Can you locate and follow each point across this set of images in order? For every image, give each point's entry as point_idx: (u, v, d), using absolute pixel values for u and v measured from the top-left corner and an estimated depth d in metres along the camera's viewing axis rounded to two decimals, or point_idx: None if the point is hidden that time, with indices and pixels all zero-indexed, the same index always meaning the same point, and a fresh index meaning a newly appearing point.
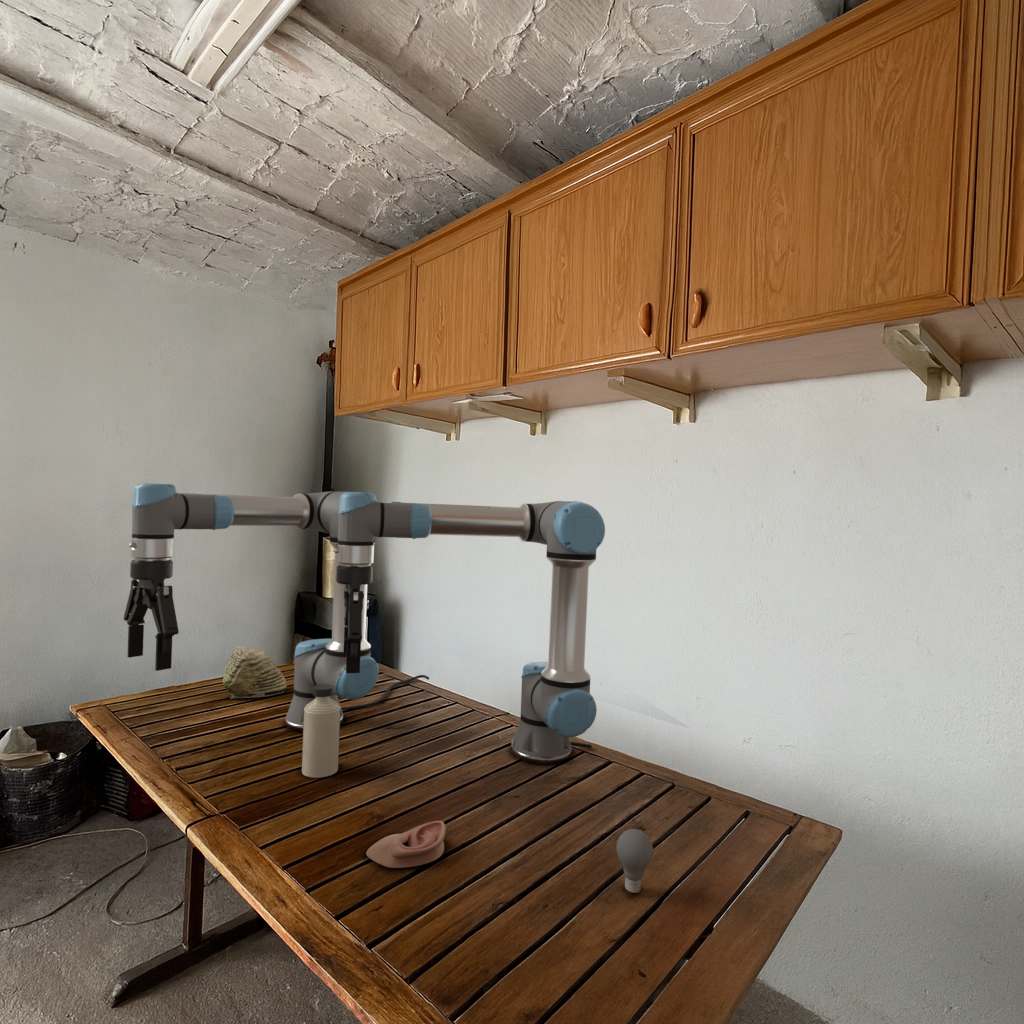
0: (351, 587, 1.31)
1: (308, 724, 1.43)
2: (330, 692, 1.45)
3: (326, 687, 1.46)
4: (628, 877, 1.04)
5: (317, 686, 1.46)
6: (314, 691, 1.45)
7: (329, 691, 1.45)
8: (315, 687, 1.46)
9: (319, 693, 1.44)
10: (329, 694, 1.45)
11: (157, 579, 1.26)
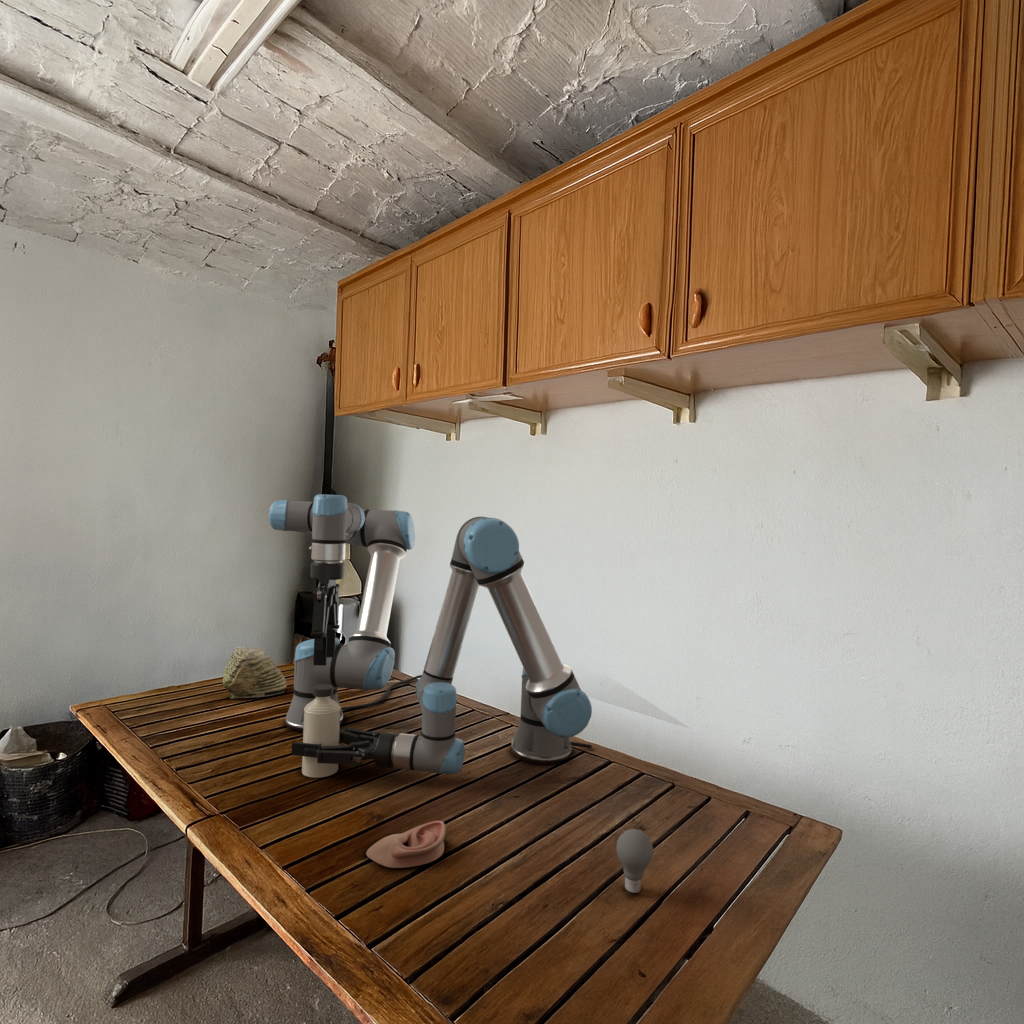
0: None
1: (308, 724, 1.43)
2: (330, 692, 1.45)
3: (326, 687, 1.46)
4: (628, 877, 1.04)
5: (317, 686, 1.46)
6: (314, 691, 1.45)
7: (329, 691, 1.45)
8: (315, 687, 1.45)
9: (319, 693, 1.44)
10: (329, 694, 1.45)
11: (321, 580, 1.42)
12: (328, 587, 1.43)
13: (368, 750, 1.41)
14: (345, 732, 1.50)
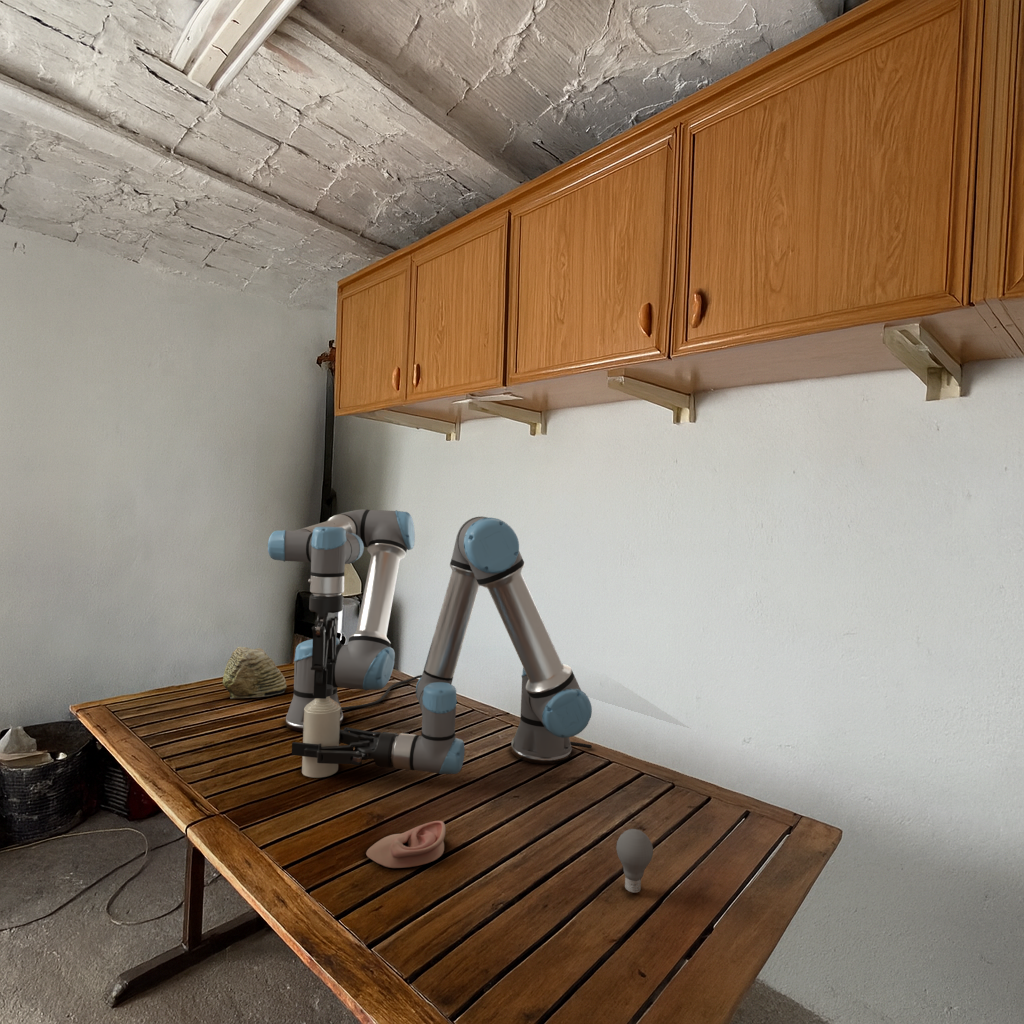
0: None
1: (308, 724, 1.43)
2: (330, 692, 1.45)
3: None
4: (628, 877, 1.04)
5: None
6: None
7: (329, 691, 1.45)
8: None
9: None
10: (329, 694, 1.45)
11: (320, 613, 1.42)
12: (327, 620, 1.43)
13: (368, 750, 1.41)
14: (345, 732, 1.50)
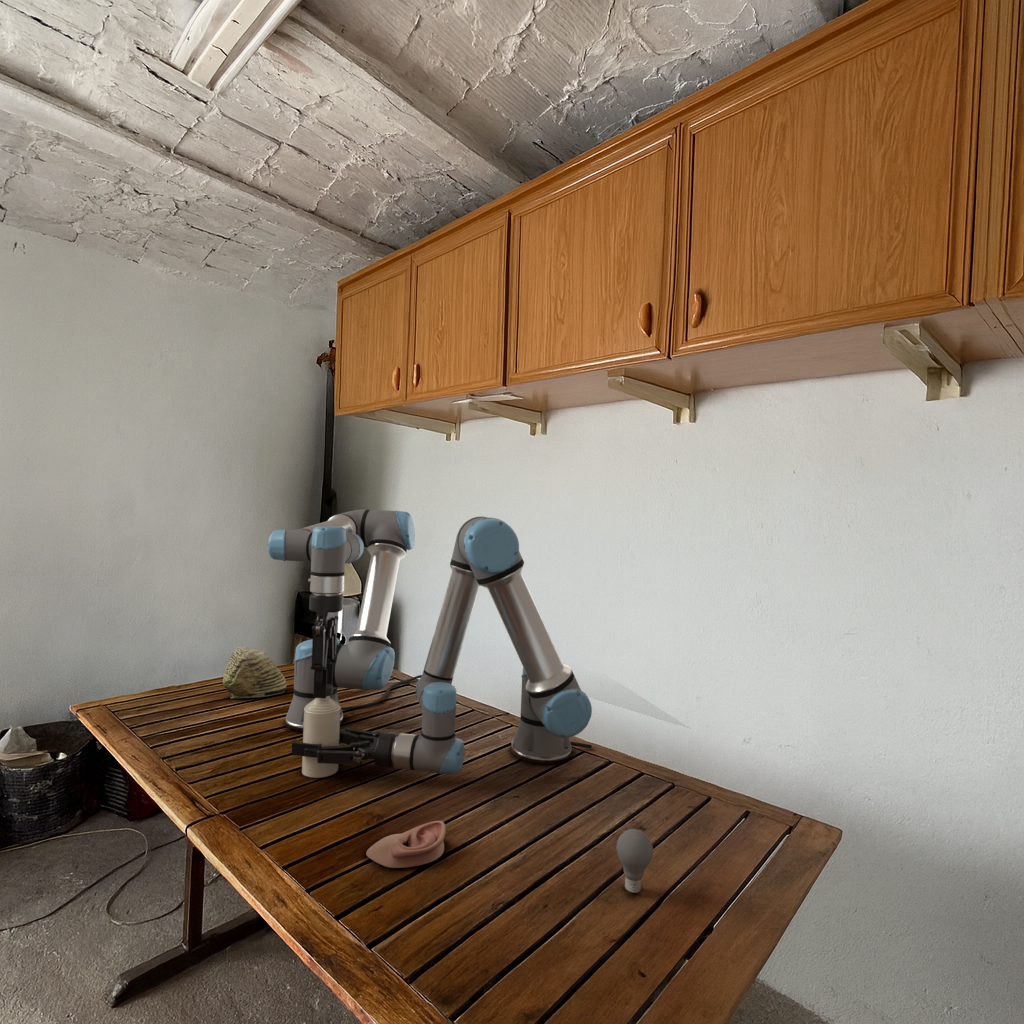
0: None
1: (308, 724, 1.43)
2: None
3: None
4: (628, 877, 1.04)
5: None
6: (331, 690, 1.46)
7: None
8: (327, 688, 1.45)
9: None
10: None
11: (320, 612, 1.42)
12: (327, 620, 1.43)
13: (368, 750, 1.41)
14: (345, 732, 1.50)
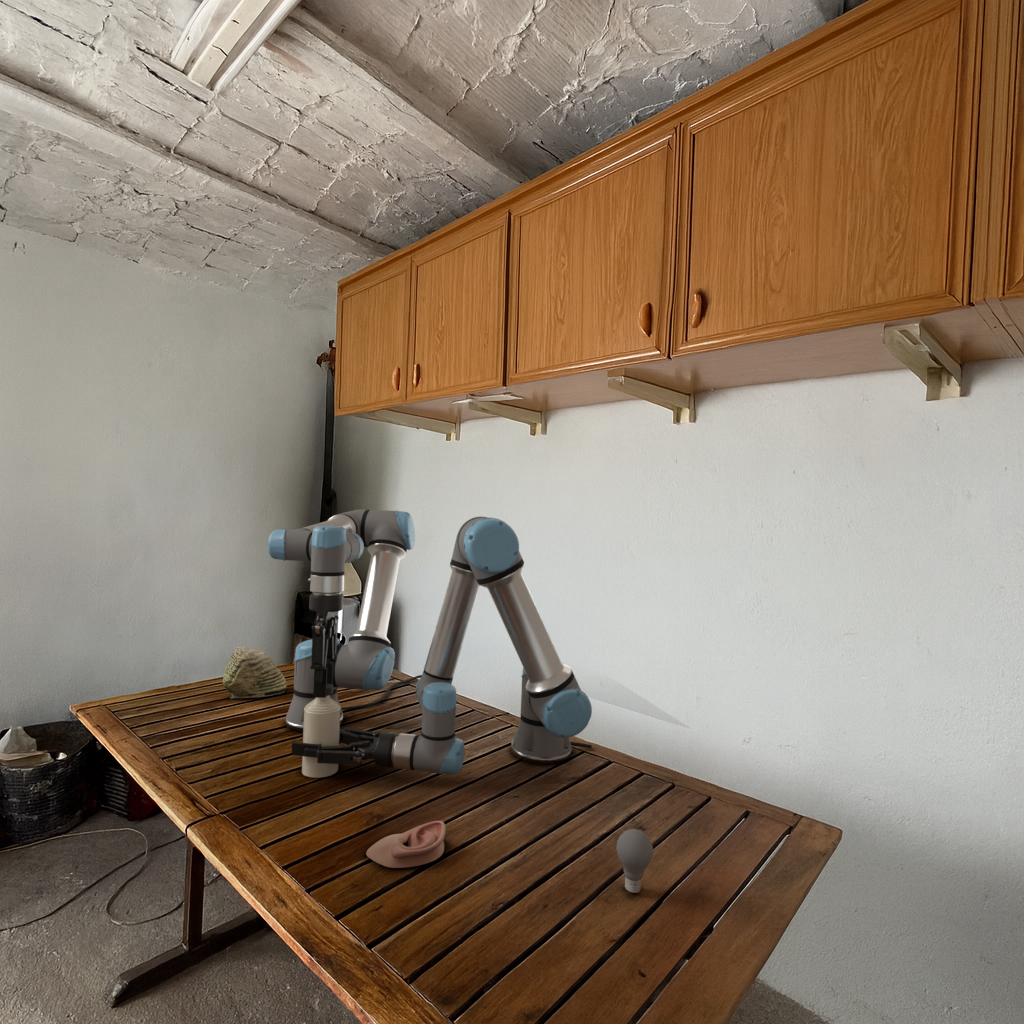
0: None
1: (308, 724, 1.43)
2: (313, 691, 1.45)
3: None
4: (628, 877, 1.04)
5: (328, 684, 1.47)
6: None
7: (313, 690, 1.45)
8: (327, 683, 1.48)
9: None
10: (313, 692, 1.46)
11: (320, 612, 1.42)
12: (327, 619, 1.43)
13: (368, 750, 1.41)
14: (345, 732, 1.50)
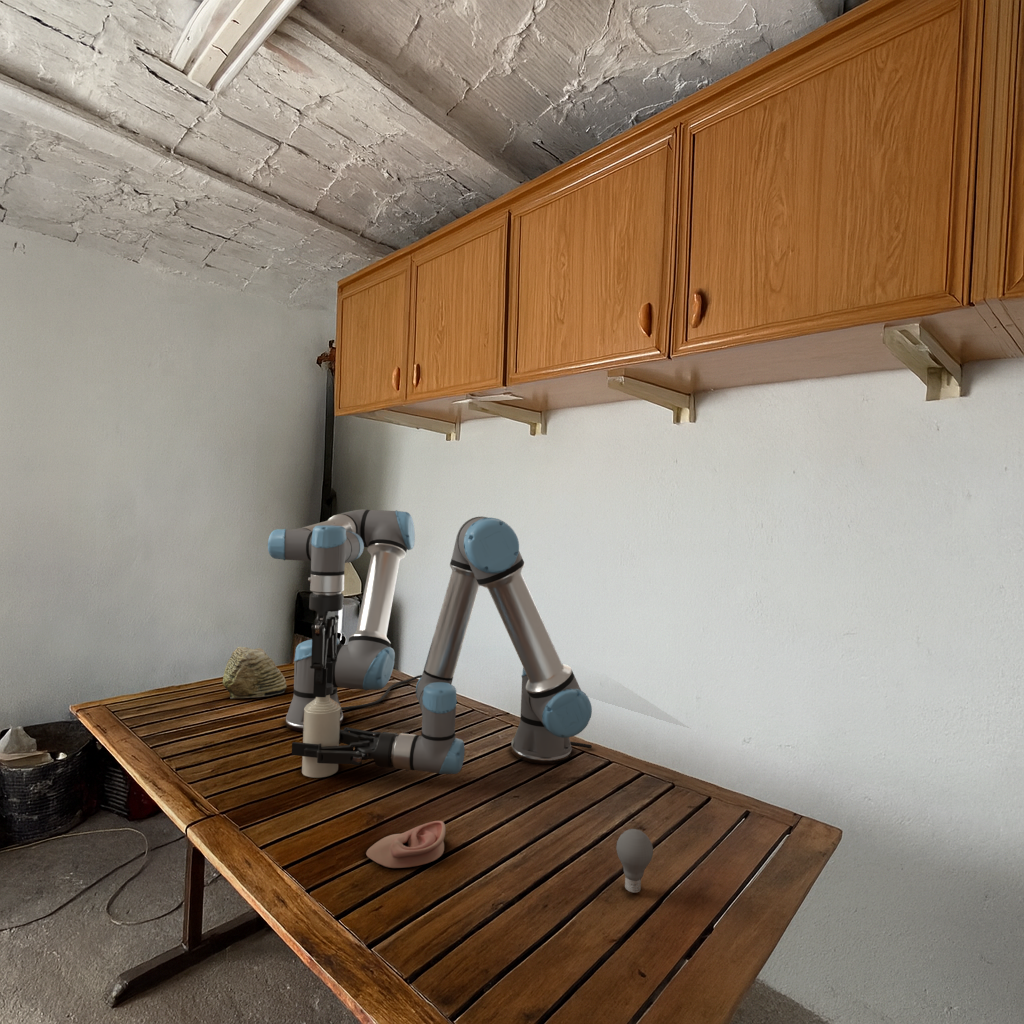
0: None
1: (308, 724, 1.43)
2: (329, 691, 1.45)
3: None
4: (628, 877, 1.04)
5: None
6: (313, 689, 1.45)
7: (328, 690, 1.45)
8: None
9: None
10: (328, 693, 1.45)
11: (319, 612, 1.42)
12: (326, 619, 1.43)
13: (368, 750, 1.41)
14: (345, 732, 1.50)
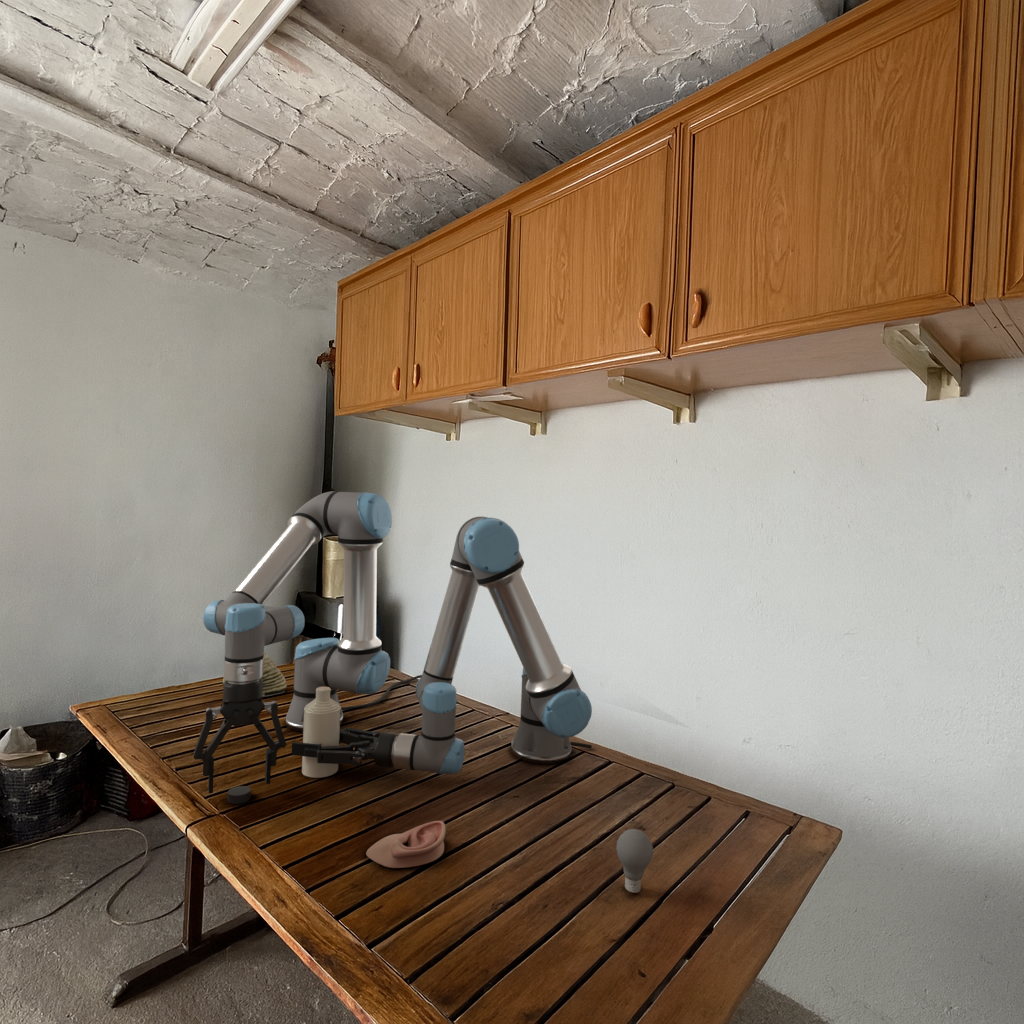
0: None
1: (308, 724, 1.43)
2: None
3: (241, 788, 1.32)
4: (628, 877, 1.04)
5: (238, 793, 1.30)
6: (246, 796, 1.30)
7: None
8: (242, 793, 1.30)
9: (250, 794, 1.32)
10: None
11: None
12: None
13: (368, 750, 1.41)
14: (345, 732, 1.50)
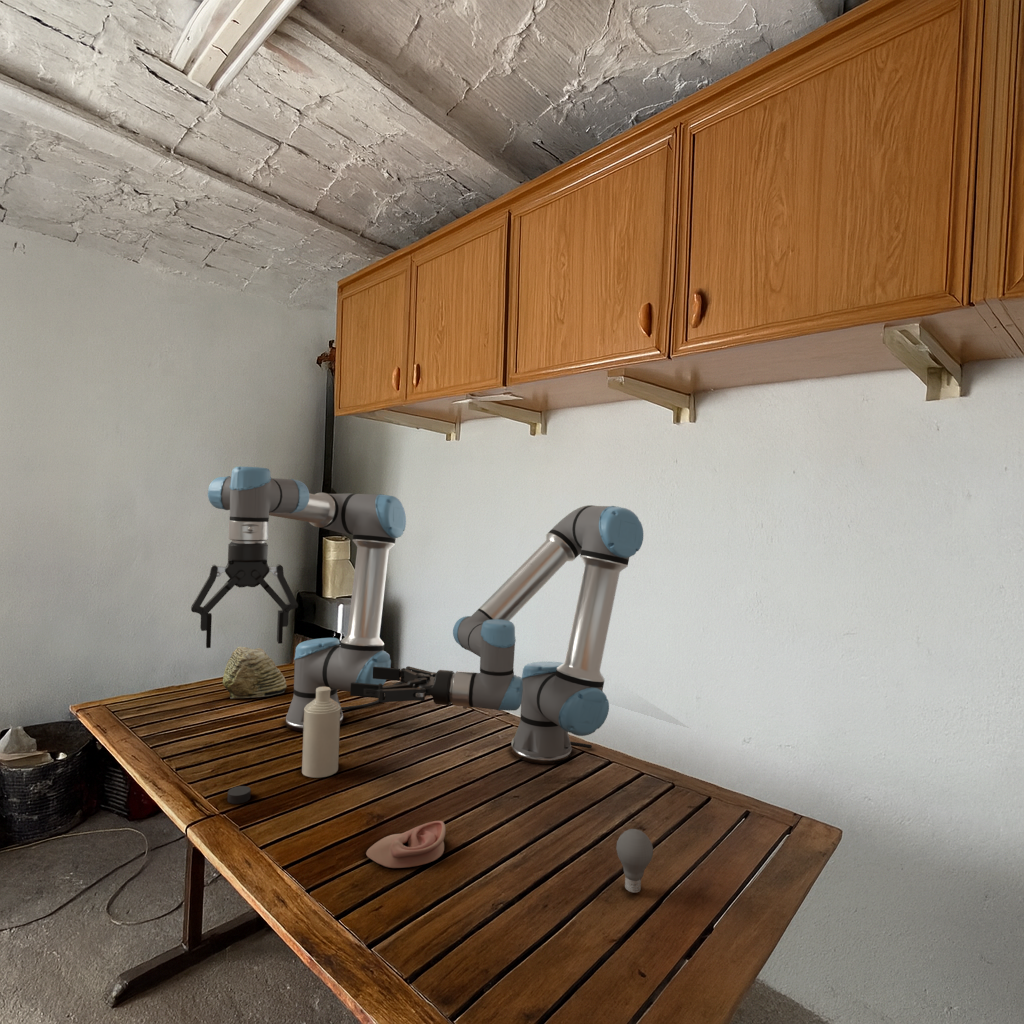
0: None
1: (308, 724, 1.43)
2: None
3: (241, 788, 1.32)
4: (628, 877, 1.04)
5: (238, 793, 1.30)
6: (246, 796, 1.30)
7: None
8: (242, 793, 1.30)
9: (250, 794, 1.32)
10: None
11: None
12: None
13: (427, 686, 1.39)
14: (407, 670, 1.50)
